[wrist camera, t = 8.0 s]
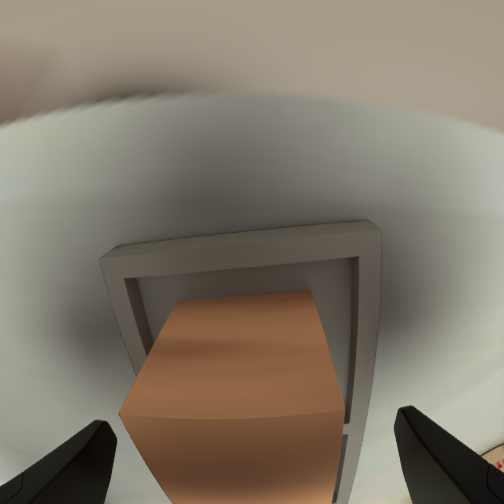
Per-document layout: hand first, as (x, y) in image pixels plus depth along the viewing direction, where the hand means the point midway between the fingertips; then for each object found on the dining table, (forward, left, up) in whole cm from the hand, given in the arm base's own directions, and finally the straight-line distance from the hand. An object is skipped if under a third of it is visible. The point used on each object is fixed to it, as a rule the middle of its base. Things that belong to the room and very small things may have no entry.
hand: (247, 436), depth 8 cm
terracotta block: (0, 0, -4) cm, 5 cm away
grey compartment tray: (-9, 0, -5) cm, 10 cm away
